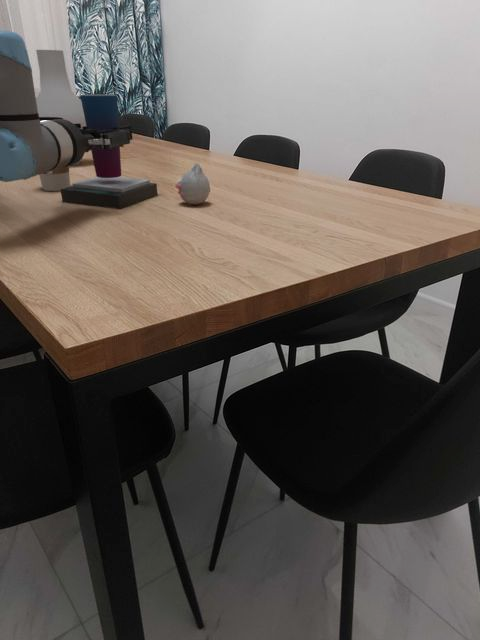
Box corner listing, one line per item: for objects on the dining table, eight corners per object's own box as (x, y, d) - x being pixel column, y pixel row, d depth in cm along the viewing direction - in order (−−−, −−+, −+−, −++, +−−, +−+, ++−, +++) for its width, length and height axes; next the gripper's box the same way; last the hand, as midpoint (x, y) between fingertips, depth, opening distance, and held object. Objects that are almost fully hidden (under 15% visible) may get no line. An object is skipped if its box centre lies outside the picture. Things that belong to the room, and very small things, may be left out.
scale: (62, 201, 103) (59, 185, 101) (104, 189, 114) (102, 174, 113) (119, 208, 99) (117, 191, 97) (157, 195, 110) (156, 179, 108)
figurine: (174, 201, 105) (171, 161, 101) (206, 199, 107) (205, 159, 103) (179, 208, 100) (177, 166, 96) (214, 206, 102) (212, 165, 98)
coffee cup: (33, 192, 110) (18, 117, 103) (41, 184, 117) (28, 114, 110) (72, 192, 111) (61, 117, 104) (79, 184, 118) (68, 114, 111)
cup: (91, 173, 106) (80, 94, 99) (124, 172, 108) (115, 94, 101) (92, 179, 100) (80, 95, 93) (127, 178, 102) (118, 95, 95)
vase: (35, 160, 148) (14, 50, 134) (93, 158, 154) (78, 52, 140) (39, 169, 135) (16, 48, 121) (102, 166, 141) (86, 50, 127)
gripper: (9, 165, 88) (76, 149, 108) (109, 170, 85) (159, 152, 105) (-2, 118, 85) (70, 110, 104) (103, 122, 81) (156, 113, 101)
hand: (115, 131), depth 105 cm, fingers closed on cup, 6 cm apart
